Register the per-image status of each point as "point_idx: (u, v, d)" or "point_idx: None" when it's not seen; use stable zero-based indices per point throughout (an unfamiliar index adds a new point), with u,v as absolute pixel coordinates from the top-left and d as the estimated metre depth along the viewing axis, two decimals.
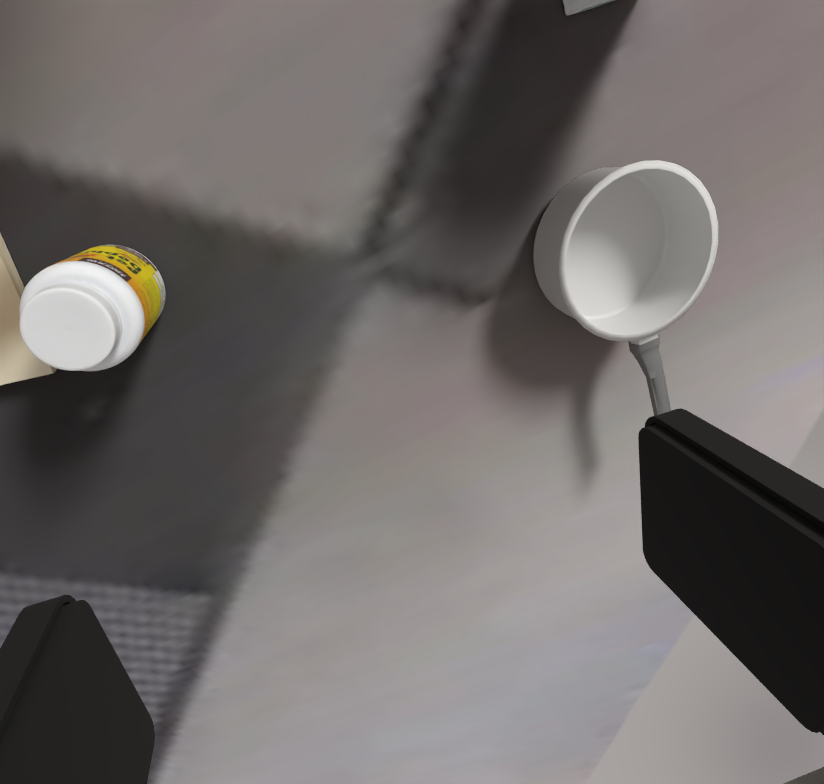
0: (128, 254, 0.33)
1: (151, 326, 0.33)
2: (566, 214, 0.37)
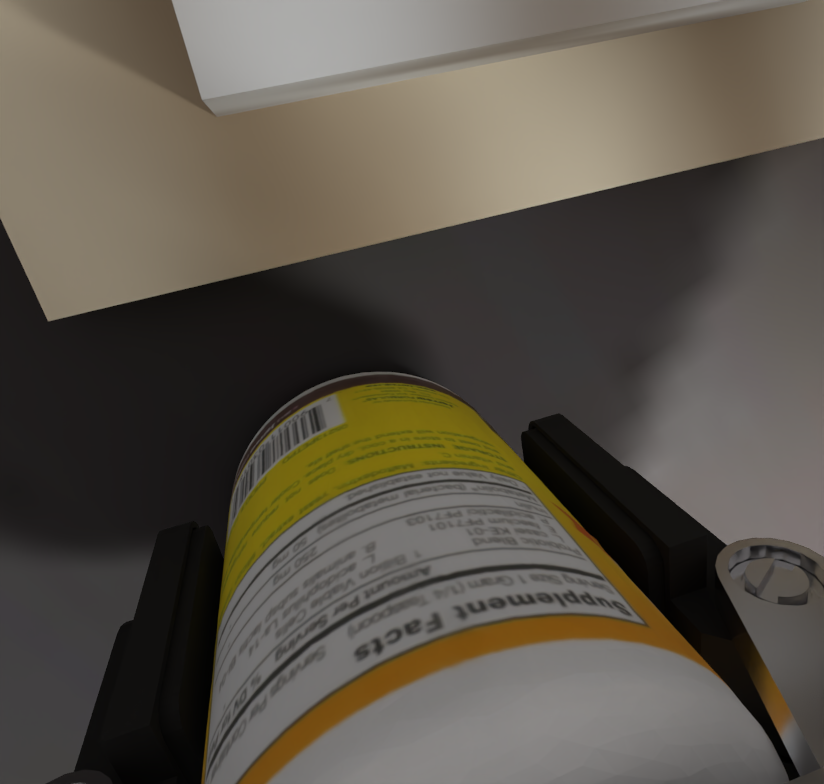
0: None
1: None
2: None
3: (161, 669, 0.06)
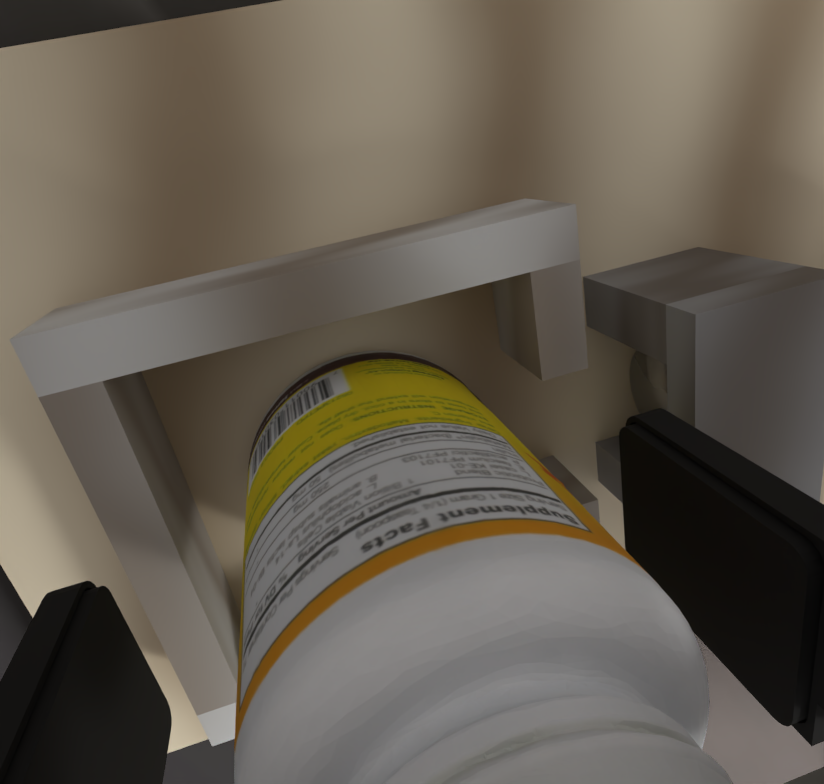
0: None
1: None
2: None
3: None
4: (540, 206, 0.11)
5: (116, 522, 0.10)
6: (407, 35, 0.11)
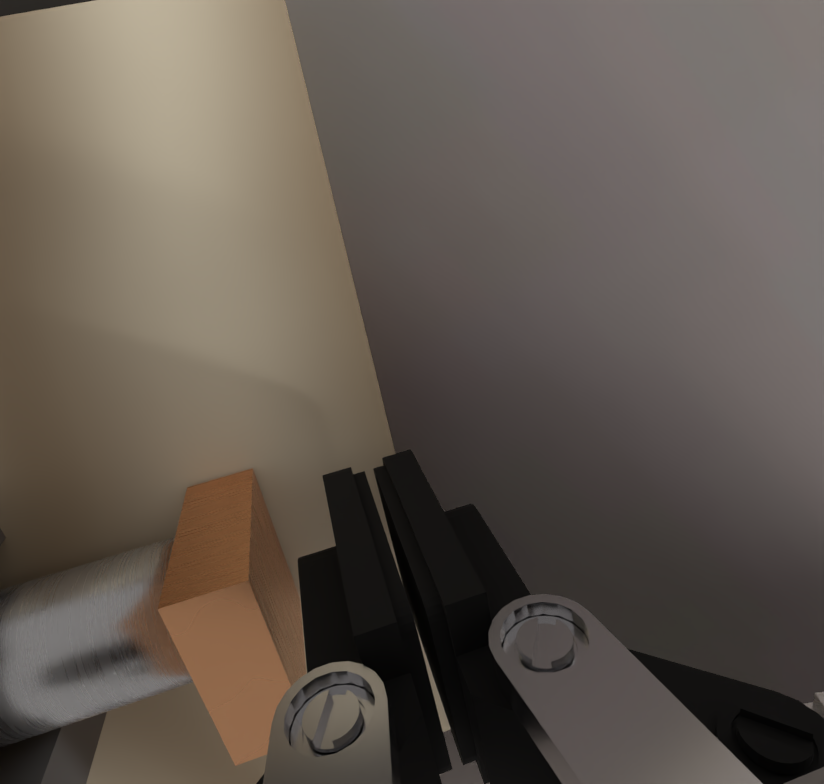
0: None
1: None
2: None
3: (385, 580, 0.07)
4: None
5: None
6: None
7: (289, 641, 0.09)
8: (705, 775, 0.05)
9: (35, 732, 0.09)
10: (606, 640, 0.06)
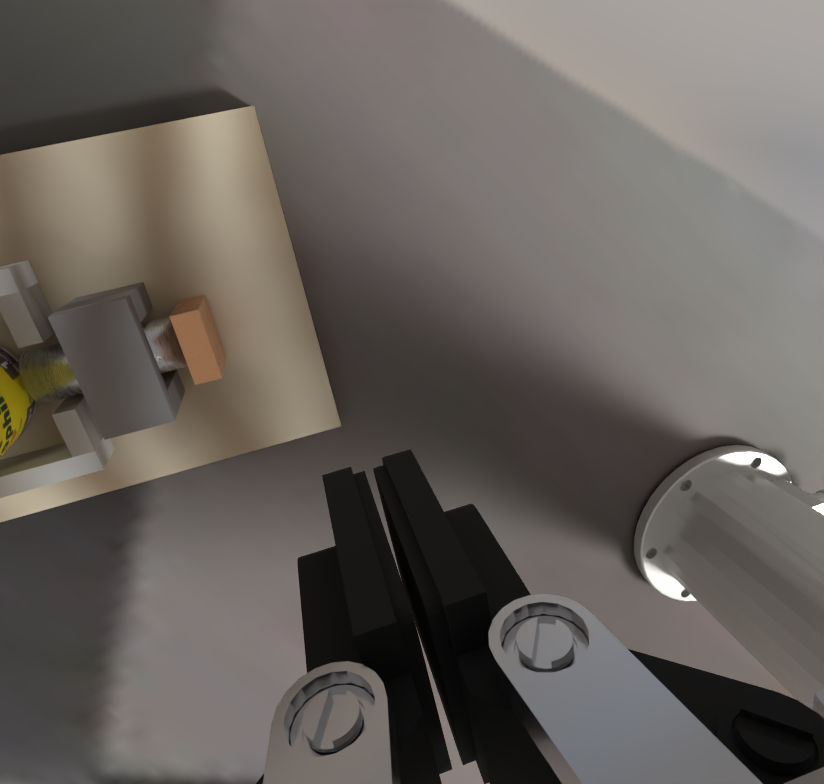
0: (18, 432, 0.25)
1: None
2: None
3: (384, 580, 0.07)
4: (3, 267, 0.24)
5: None
6: None
7: (215, 348, 0.26)
8: (705, 775, 0.05)
9: None
10: (606, 640, 0.06)
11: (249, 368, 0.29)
